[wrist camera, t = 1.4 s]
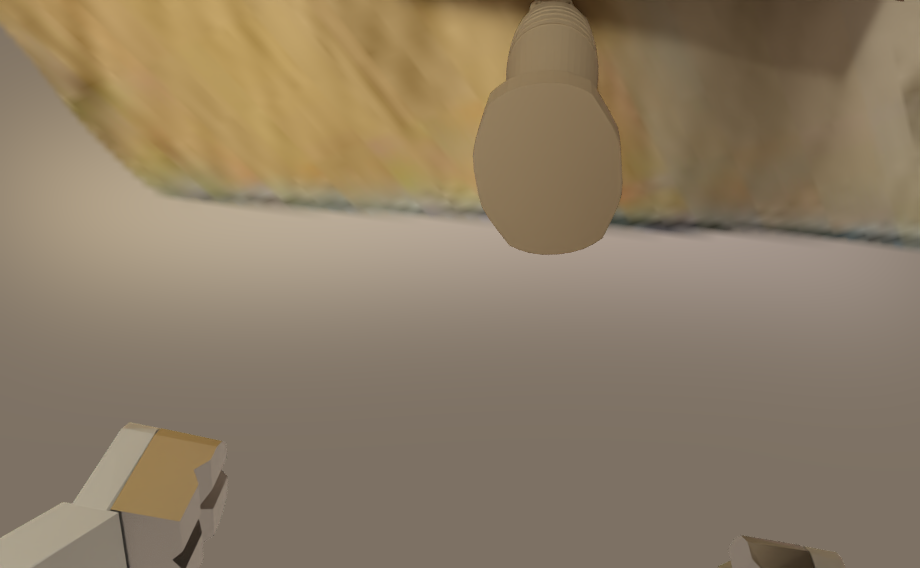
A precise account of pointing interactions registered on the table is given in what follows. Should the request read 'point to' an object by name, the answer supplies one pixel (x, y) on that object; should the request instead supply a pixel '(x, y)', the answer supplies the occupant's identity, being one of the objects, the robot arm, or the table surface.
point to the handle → (549, 138)
